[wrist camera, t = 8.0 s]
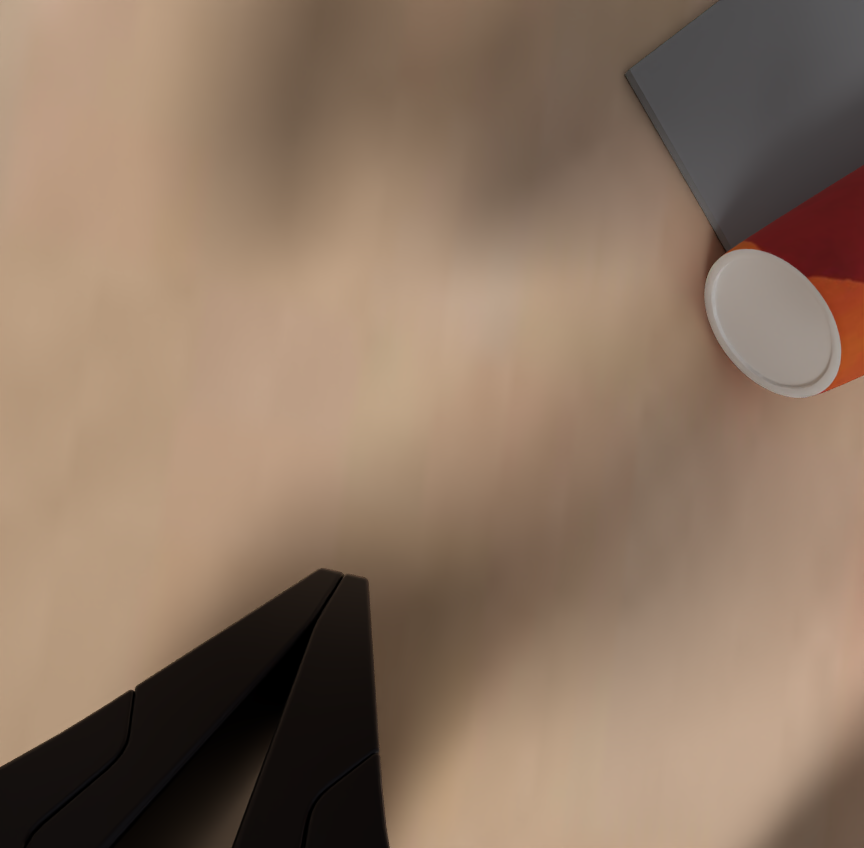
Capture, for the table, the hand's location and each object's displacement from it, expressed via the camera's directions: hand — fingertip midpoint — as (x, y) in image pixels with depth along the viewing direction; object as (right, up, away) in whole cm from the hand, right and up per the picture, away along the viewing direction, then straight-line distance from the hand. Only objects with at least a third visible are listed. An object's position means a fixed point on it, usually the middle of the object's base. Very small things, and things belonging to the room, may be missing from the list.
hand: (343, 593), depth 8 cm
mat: (+16, +14, +11) cm, 24 cm away
